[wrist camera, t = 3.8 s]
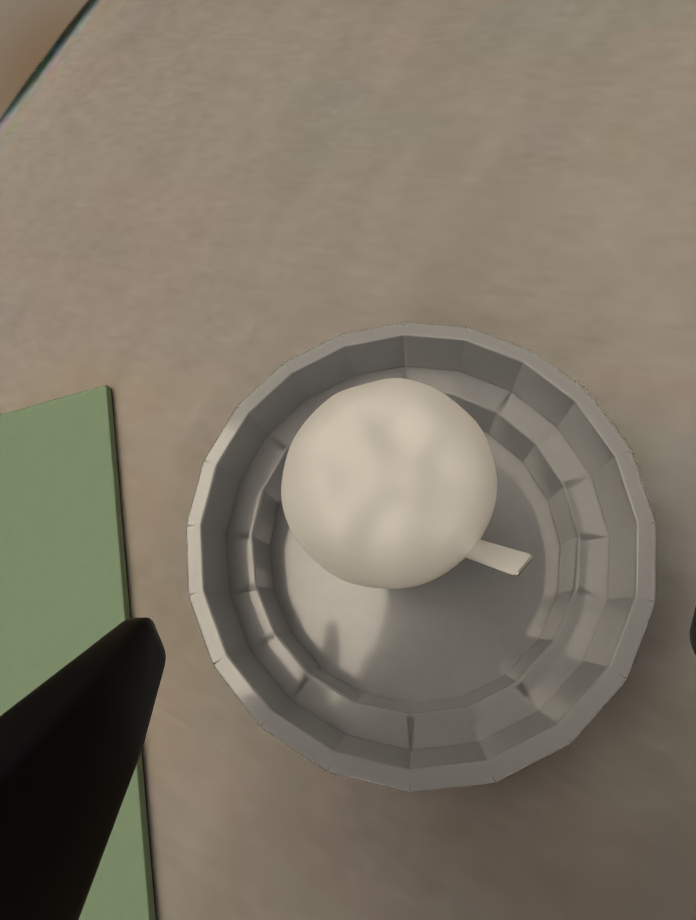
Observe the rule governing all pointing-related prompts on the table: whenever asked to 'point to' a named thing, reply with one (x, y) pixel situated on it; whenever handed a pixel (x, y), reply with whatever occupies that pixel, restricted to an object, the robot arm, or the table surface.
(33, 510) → the mat
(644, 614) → the bowl
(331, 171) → the table surface
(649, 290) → the table surface
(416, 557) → the milkshake
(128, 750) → the robot arm
